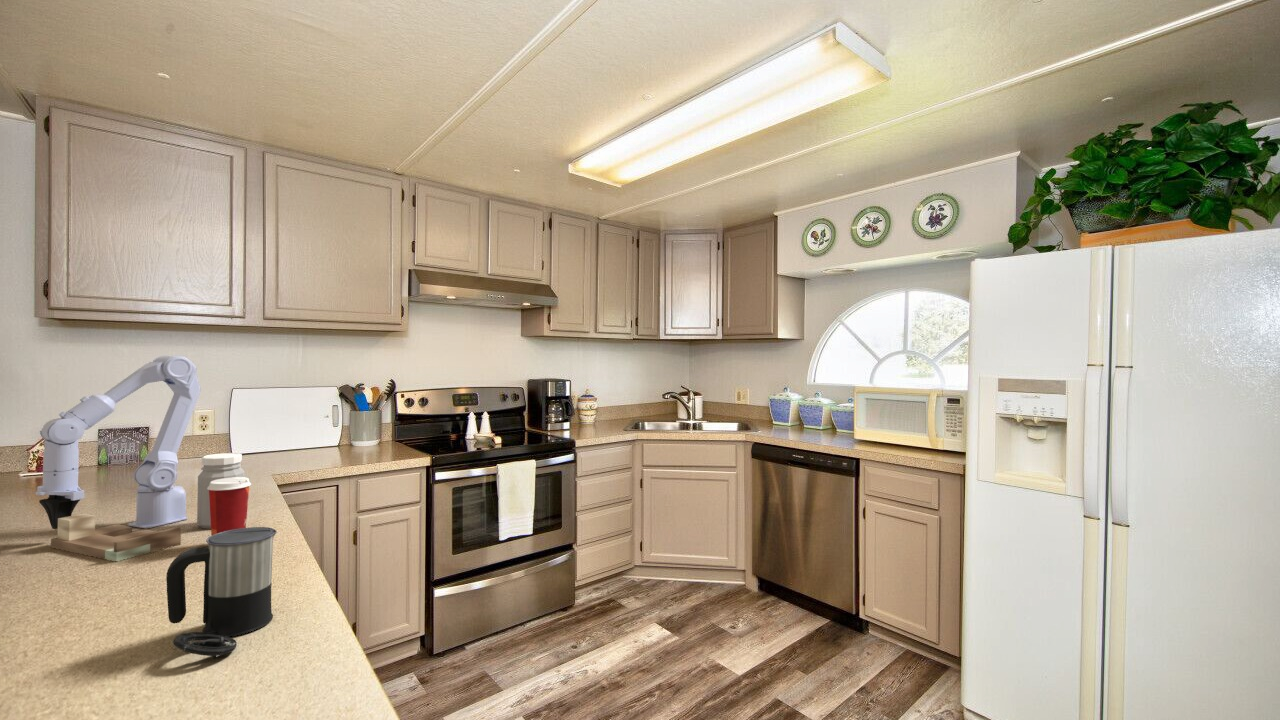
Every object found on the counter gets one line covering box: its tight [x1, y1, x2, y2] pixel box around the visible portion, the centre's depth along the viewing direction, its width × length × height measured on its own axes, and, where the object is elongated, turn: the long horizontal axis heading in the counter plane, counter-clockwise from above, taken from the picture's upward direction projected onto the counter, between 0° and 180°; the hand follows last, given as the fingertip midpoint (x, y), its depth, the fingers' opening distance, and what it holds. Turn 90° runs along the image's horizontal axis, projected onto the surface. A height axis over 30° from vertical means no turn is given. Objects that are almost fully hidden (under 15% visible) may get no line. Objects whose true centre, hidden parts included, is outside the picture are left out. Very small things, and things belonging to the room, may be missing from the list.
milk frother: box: [165, 526, 277, 659], centre depth 84 cm, size 14×16×15 cm
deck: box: [50, 523, 182, 562], centre depth 124 cm, size 12×24×4 cm, turn 71°
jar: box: [196, 452, 246, 530], centre depth 142 cm, size 10×10×18 cm
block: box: [57, 513, 96, 541], centre depth 124 cm, size 4×4×4 cm
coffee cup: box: [207, 476, 252, 536], centre depth 126 cm, size 8×8×15 cm
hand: (59, 527), depth 127 cm, fingers closed
